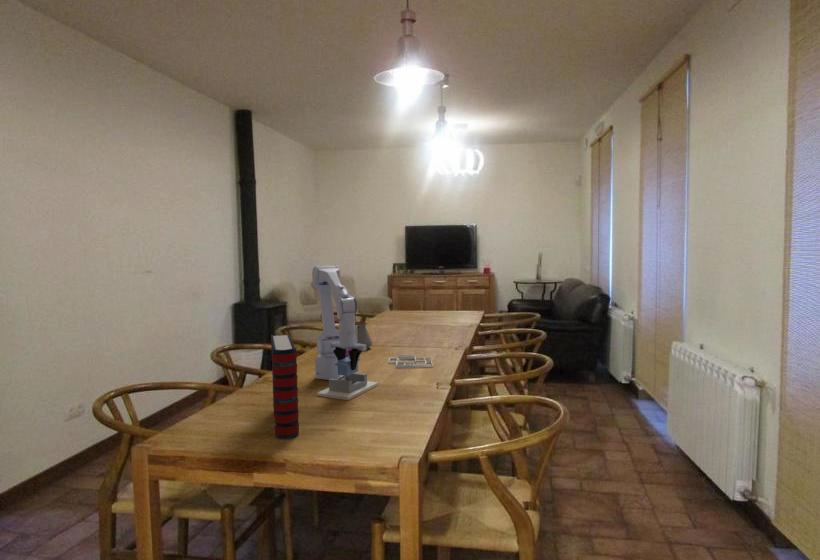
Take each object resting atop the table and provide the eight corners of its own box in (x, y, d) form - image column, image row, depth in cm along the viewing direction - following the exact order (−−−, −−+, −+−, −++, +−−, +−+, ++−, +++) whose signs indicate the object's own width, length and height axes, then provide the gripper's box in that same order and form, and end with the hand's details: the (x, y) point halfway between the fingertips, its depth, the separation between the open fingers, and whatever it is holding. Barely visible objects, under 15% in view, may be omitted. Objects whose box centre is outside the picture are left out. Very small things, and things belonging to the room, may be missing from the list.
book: (300, 438, 146) (297, 349, 144) (274, 441, 144) (271, 350, 142) (293, 409, 170) (291, 333, 168) (271, 412, 168) (268, 334, 166)
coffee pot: (350, 346, 268) (350, 316, 267) (373, 346, 268) (373, 316, 267) (343, 355, 247) (343, 323, 246) (368, 355, 247) (367, 323, 245)
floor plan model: (376, 359, 241) (376, 354, 241) (431, 358, 241) (431, 354, 240) (373, 369, 222) (373, 364, 222) (432, 368, 222) (432, 364, 222)
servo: (335, 375, 187) (335, 359, 186) (350, 369, 195) (350, 353, 195) (345, 376, 185) (344, 360, 184) (360, 370, 194) (359, 354, 193)
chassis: (317, 395, 185) (316, 381, 184) (348, 381, 203) (347, 368, 202) (348, 400, 179) (348, 385, 179) (378, 385, 197) (377, 371, 196)
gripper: (323, 331, 189) (324, 369, 190) (358, 334, 182) (359, 373, 183) (334, 328, 195) (335, 365, 196) (369, 331, 189) (369, 368, 190)
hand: (348, 368), depth 190 cm, fingers closed on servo, 4 cm apart
